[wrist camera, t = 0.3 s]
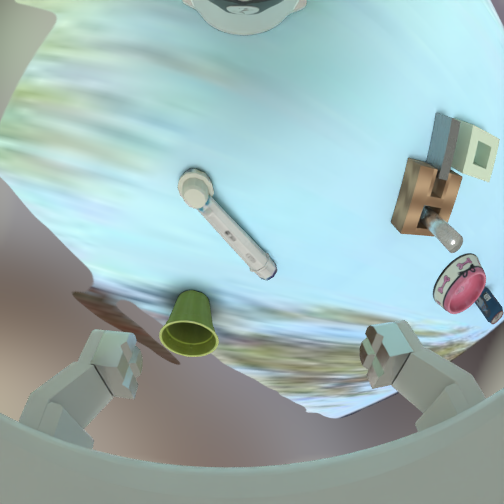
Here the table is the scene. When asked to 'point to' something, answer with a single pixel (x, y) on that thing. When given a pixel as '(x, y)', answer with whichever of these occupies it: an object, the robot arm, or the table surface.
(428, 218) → the peg
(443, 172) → the block
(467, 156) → the square hole block
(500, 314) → the soda can
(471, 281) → the dog bowl
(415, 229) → the socket block
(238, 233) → the white elongated piece
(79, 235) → the table surface
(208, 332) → the plant pot
